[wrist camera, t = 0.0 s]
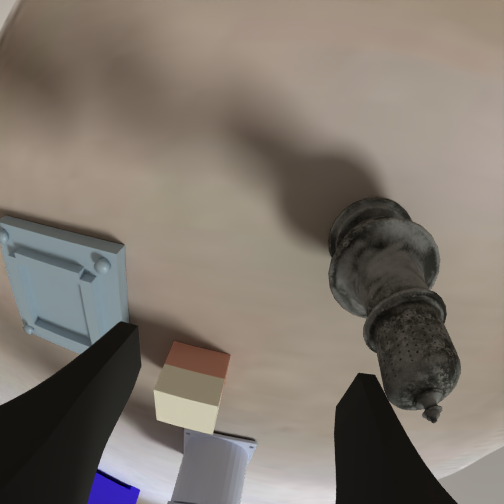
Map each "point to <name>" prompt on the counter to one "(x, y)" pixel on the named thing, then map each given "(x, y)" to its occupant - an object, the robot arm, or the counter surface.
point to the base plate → (64, 282)
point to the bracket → (111, 492)
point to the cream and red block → (191, 387)
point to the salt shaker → (395, 301)
